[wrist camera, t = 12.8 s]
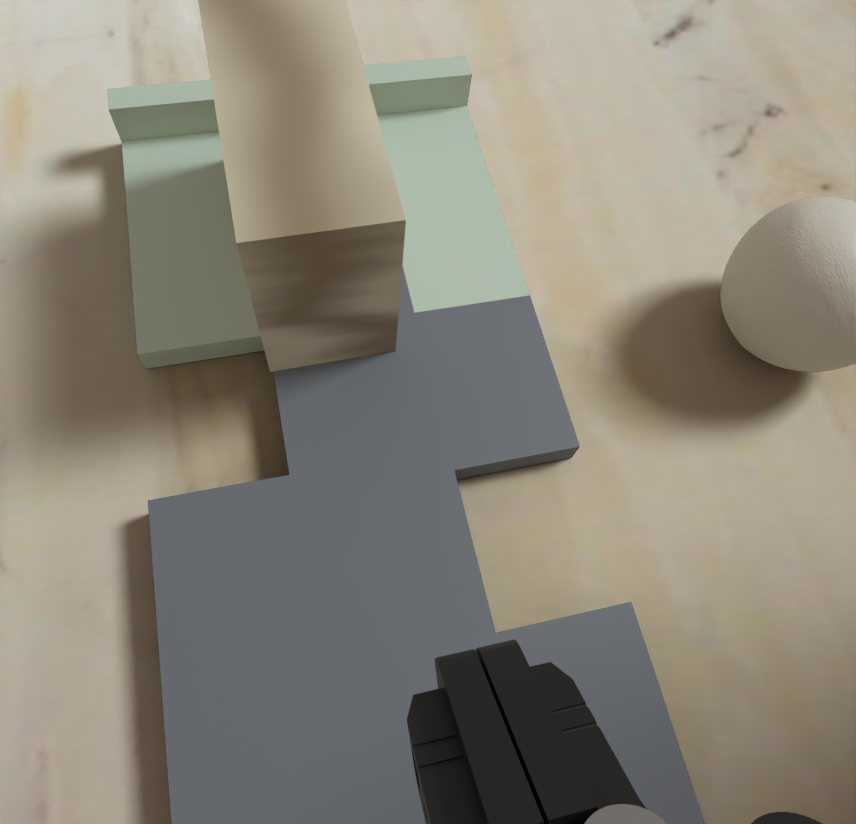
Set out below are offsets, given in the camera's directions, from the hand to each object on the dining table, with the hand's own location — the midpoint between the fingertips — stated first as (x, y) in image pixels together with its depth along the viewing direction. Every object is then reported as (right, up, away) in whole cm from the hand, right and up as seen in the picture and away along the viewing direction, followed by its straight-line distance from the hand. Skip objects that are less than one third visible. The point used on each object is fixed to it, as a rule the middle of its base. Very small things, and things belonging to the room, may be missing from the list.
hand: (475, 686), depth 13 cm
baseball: (+15, +8, +19) cm, 26 cm away
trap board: (-3, 0, +14) cm, 14 cm away
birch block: (-6, +12, +17) cm, 22 cm away
